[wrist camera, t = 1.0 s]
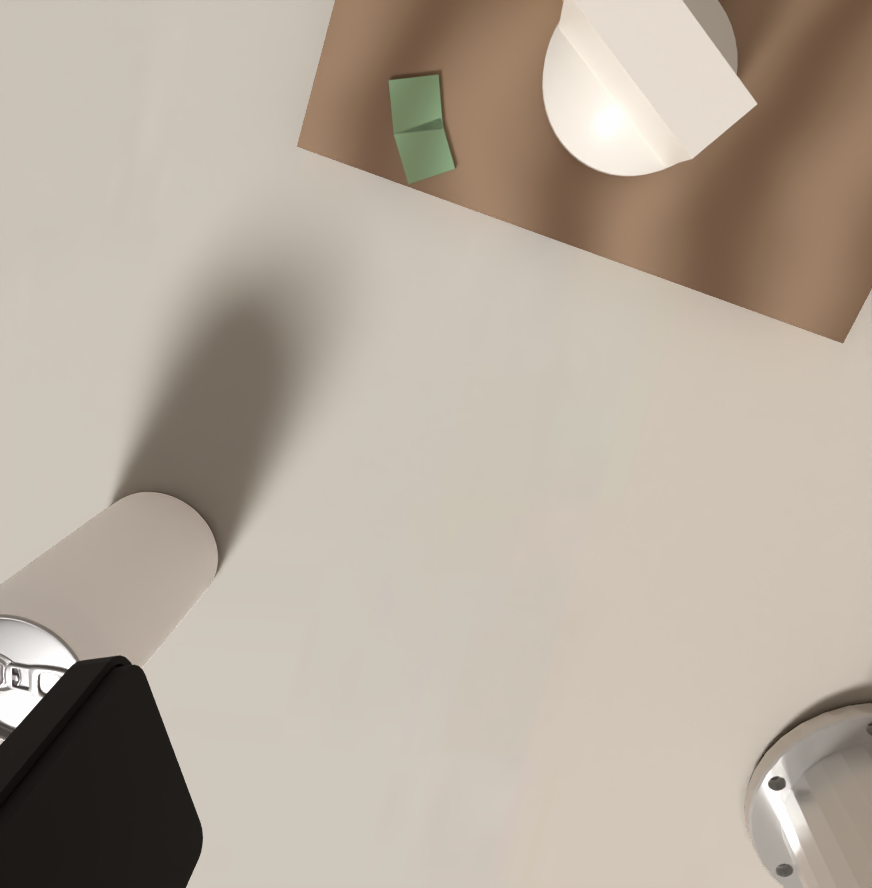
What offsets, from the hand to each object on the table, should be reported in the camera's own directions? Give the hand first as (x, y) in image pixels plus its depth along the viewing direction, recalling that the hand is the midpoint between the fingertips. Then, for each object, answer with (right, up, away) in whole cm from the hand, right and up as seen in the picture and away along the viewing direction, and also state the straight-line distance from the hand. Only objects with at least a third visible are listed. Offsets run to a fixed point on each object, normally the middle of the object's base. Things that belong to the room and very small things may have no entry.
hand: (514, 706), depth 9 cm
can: (-15, -2, +30) cm, 34 cm away
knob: (+4, +20, +20) cm, 28 cm away
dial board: (+7, +18, +22) cm, 29 cm away
